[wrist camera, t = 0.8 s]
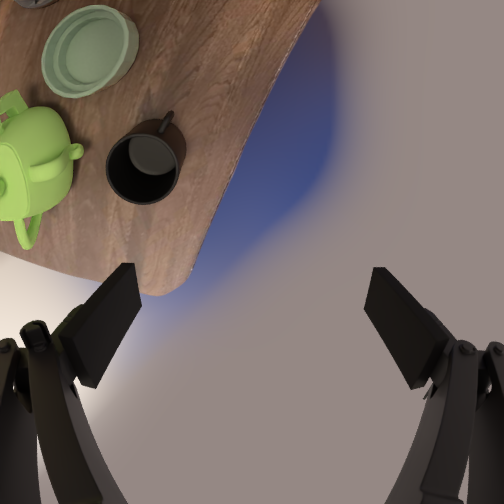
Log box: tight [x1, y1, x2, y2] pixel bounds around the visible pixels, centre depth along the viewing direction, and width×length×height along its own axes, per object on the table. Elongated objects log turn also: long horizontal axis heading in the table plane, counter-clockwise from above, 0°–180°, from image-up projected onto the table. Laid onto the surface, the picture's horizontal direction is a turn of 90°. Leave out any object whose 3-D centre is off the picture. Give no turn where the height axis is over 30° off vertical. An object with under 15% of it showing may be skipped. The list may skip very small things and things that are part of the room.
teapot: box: [0, 90, 84, 250], centre depth 26 cm, size 19×20×14 cm
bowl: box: [42, 5, 139, 98], centre depth 22 cm, size 13×13×6 cm
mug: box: [106, 110, 186, 205], centre depth 32 cm, size 9×12×9 cm
